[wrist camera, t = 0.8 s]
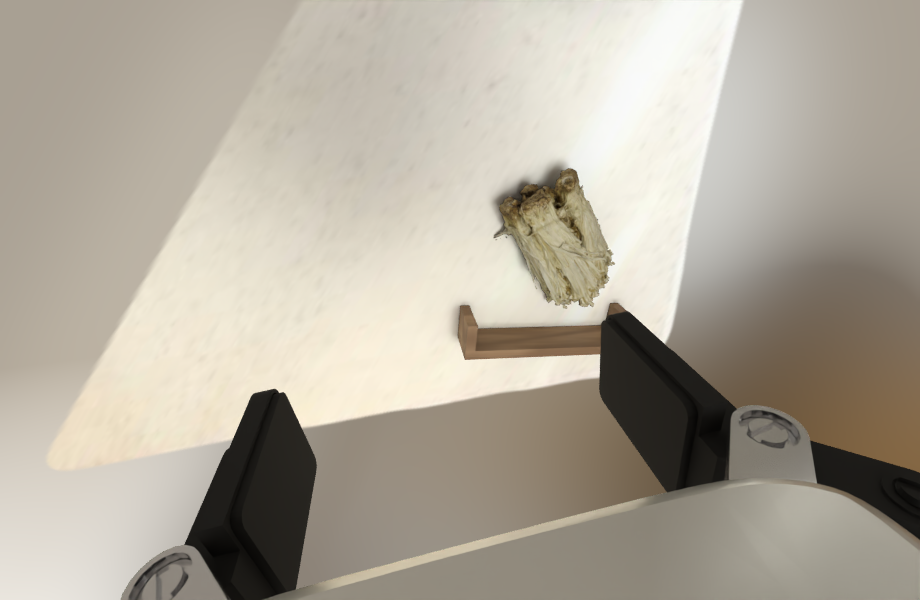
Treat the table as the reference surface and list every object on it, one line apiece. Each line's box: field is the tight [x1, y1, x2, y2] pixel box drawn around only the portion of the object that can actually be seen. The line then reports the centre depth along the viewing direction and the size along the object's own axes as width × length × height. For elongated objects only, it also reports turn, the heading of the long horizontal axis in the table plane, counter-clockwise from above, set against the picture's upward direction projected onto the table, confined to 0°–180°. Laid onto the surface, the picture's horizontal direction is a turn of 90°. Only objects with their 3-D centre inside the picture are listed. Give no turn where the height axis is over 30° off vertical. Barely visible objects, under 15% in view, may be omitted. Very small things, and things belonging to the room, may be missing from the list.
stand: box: [458, 303, 626, 360], centre depth 45 cm, size 4×19×4 cm, turn 86°
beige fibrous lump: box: [494, 168, 615, 309], centre depth 41 cm, size 14×10×5 cm, turn 31°
